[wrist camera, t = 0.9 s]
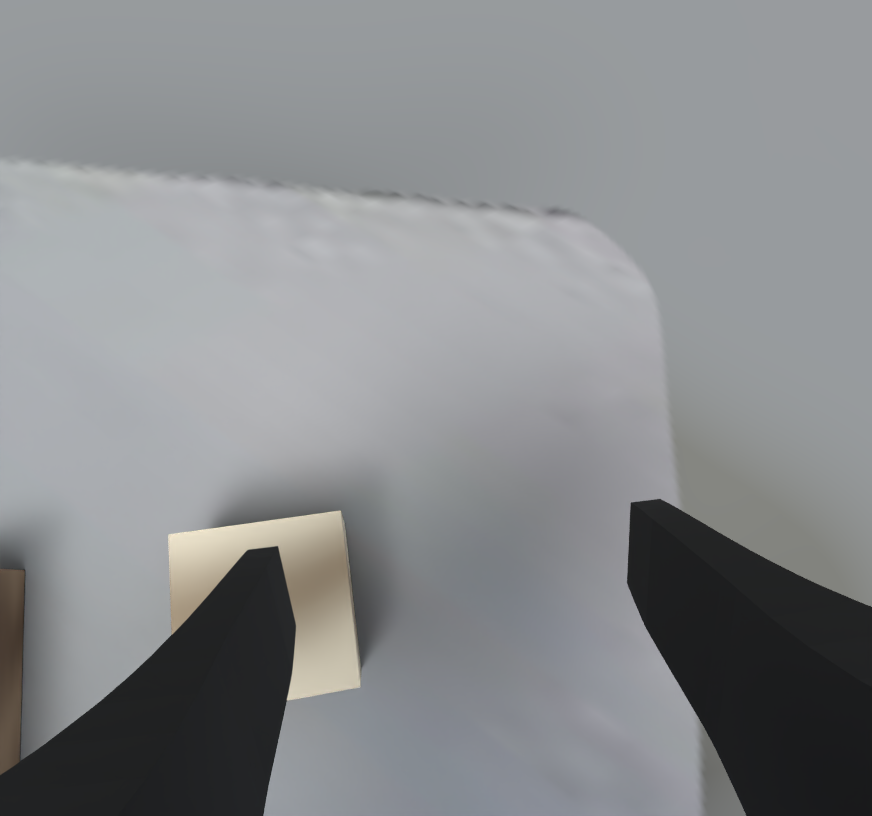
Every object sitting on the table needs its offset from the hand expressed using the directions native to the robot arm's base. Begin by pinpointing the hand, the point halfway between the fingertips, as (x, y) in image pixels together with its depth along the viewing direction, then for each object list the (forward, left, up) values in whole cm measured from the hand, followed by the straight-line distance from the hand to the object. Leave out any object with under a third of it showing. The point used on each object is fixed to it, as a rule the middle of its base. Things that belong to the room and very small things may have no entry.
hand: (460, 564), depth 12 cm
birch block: (0, +5, -15) cm, 16 cm away
